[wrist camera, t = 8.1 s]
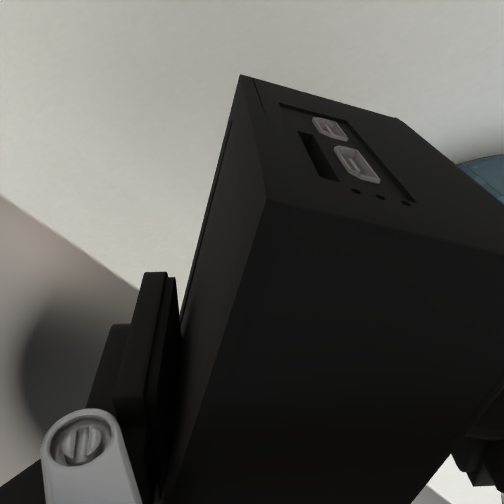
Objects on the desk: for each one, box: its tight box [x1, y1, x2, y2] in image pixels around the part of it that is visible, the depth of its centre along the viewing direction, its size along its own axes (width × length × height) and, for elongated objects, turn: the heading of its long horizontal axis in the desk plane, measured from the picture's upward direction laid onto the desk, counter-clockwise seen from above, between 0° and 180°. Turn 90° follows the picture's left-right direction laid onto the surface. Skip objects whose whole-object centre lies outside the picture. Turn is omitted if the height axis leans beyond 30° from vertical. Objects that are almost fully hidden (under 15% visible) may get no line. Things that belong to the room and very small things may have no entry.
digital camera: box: [154, 74, 504, 504], centre depth 11 cm, size 10×5×7 cm, turn 164°
